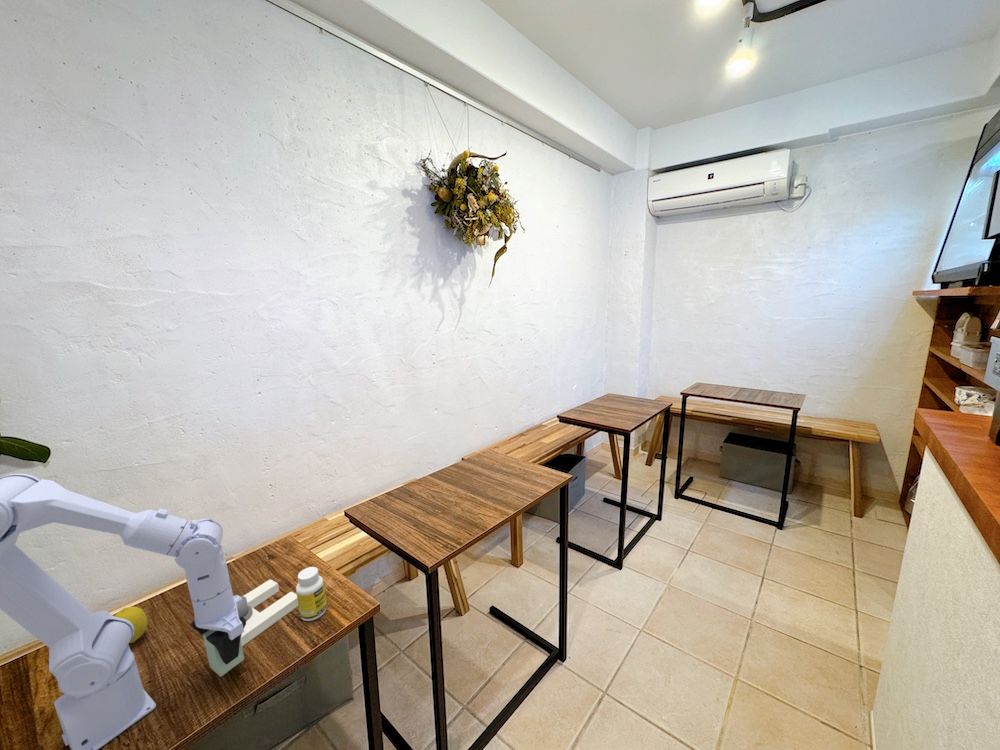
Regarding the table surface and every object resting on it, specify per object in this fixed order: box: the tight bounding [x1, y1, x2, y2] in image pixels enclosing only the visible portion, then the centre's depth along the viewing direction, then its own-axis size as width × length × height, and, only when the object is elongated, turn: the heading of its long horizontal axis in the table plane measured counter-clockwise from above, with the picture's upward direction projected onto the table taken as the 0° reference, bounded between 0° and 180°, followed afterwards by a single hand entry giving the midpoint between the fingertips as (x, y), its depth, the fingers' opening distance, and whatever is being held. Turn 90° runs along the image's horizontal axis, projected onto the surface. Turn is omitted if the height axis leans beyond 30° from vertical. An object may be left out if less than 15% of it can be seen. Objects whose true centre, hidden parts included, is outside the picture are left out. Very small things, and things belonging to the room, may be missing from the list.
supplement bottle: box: [295, 566, 328, 622], centre depth 85 cm, size 5×5×10 cm
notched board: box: [237, 578, 299, 647], centre depth 85 cm, size 15×12×6 cm
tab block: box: [201, 630, 245, 678], centre depth 71 cm, size 4×4×7 cm
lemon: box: [114, 606, 148, 644], centre depth 80 cm, size 6×6×8 cm
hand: (225, 654), depth 72 cm, fingers closed on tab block, 4 cm apart
